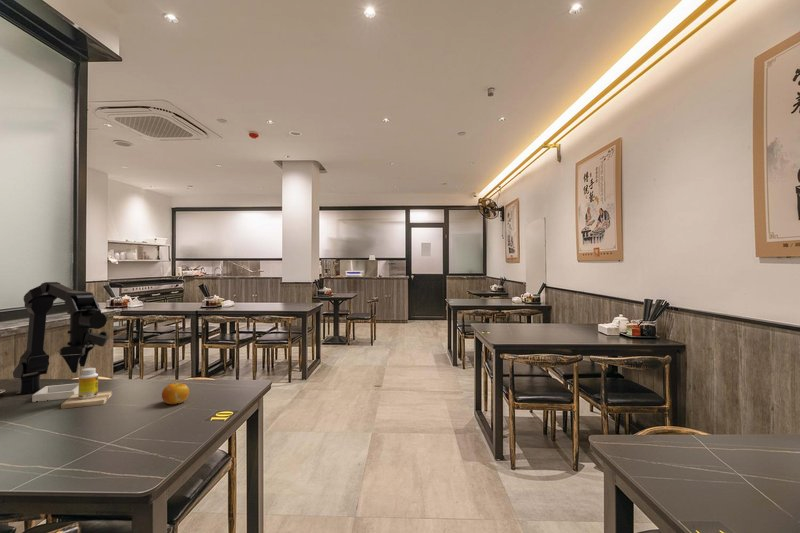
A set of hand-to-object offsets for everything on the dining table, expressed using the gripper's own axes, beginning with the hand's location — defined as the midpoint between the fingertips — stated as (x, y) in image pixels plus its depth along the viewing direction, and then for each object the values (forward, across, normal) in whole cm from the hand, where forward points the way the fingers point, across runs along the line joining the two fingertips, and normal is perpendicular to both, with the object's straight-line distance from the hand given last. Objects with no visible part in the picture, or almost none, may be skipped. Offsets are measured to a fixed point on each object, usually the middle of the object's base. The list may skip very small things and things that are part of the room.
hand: (78, 369), depth 143 cm
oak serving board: (+11, -2, -4) cm, 12 cm away
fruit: (+11, -16, -32) cm, 38 cm away
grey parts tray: (+12, +11, +8) cm, 18 cm away
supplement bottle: (+10, -2, -3) cm, 11 cm away
